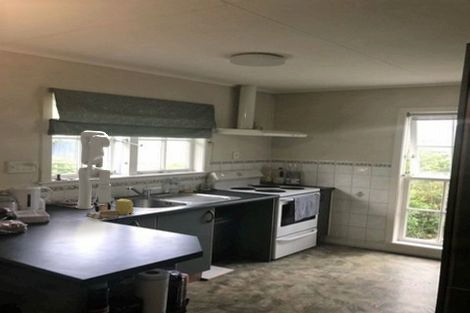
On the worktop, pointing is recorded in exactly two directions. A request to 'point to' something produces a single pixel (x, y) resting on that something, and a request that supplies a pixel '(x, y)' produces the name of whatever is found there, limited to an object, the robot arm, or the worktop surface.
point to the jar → (102, 208)
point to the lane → (104, 214)
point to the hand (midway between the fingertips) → (102, 211)
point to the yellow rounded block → (124, 206)
